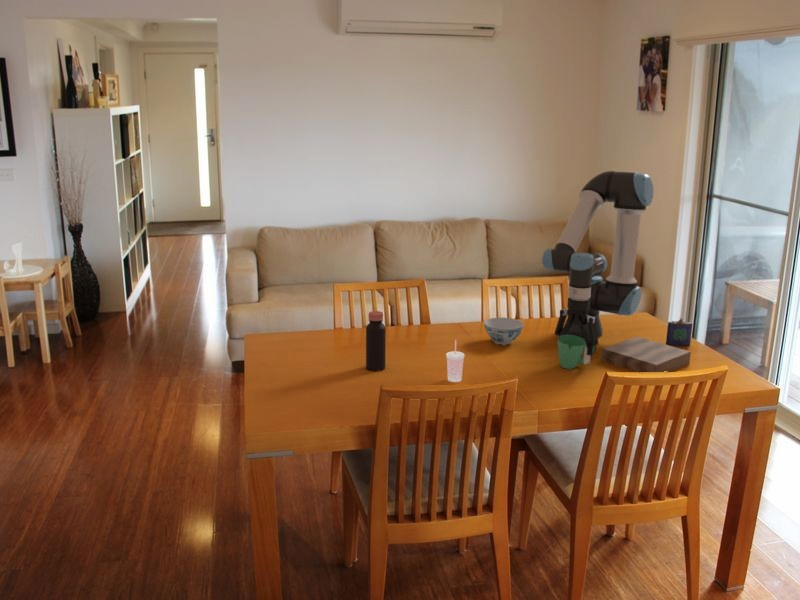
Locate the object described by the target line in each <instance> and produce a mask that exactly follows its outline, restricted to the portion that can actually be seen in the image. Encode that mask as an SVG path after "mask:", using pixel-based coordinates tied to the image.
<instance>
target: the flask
mask: <svg viewBox="0 0 800 600" xmlns="http://www.w3.org/2000/svg"><path fill="white" fill-rule="evenodd" d="M692 332H693V322H691V321H684V318H683V317H680V318H679V320H675V321H674V320H672V321H668V322H667V332H666V337H665V338H666V340H665V341H666V342H665V345H666V344H667V345H669V346H670V345H672V347H679V346H680V347H688V346H691V343H692V342H691V341H692V334H693V333H692Z"/></svg>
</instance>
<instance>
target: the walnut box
mask: <svg viewBox="0 0 800 600" xmlns="http://www.w3.org/2000/svg"><path fill="white" fill-rule="evenodd" d="M691 353H692V352H691V351H690V350H686V349H682V348H679V347H677V346H670V345H666V343H661V342H657V341H654V340H650V339H647V338H644V337H639V336H635V337H632V338H628V339H625V340H621V341H620V342H616V343H614V344H611V345H608V346H605V347H602V348H601V356H600V357H601V358H600V360H601V361H602V360H603V361H602V362H605V361H606V362H605V363H608V362H609V363H608V364H611V363H612V365H615V364H616V366H618V367H621V368H624V369H627V370H631V371H633V370H634V372H636V371H637V373H640V372H664V371H670V372H672V371H675V370H677V369H679V368H682V367H684V366H687V365H689V364H690V360H691Z"/></svg>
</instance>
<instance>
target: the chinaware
mask: <svg viewBox="0 0 800 600" xmlns="http://www.w3.org/2000/svg"><path fill="white" fill-rule="evenodd" d="M483 325H484V326H483V327H484V329H485V330H484V331H485V332H486V334H487V335H488V337H490V339H492V340H493V342H495V343H494V344H496V343H497V344H496V345H499V344H502V345H501V346H507V345H506V344H509V345H511V344H512V343H511V342H513V341H514V340H516V339H518V337H519V336H520V335H521V333H522V331H523V328H524V323H523V321H521V320H518V319H515V318H511V317H491V318H488V319H486V320H484V322H483ZM510 343H511V344H510Z"/></svg>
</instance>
